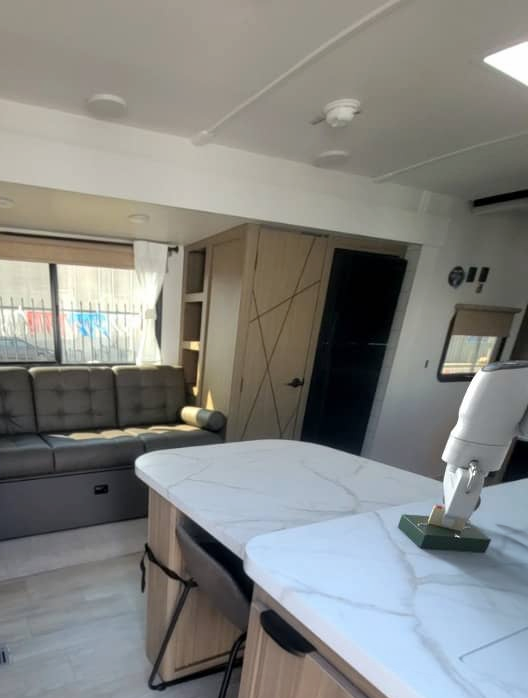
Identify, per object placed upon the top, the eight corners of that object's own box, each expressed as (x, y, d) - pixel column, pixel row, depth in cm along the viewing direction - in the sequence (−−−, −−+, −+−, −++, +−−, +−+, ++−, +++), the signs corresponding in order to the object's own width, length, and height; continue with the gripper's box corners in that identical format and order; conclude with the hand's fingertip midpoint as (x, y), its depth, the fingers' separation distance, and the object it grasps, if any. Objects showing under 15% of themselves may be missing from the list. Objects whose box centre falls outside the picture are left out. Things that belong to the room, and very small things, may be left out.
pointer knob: (460, 528, 80) (468, 511, 78) (461, 531, 78) (468, 514, 77) (428, 520, 82) (434, 503, 81) (428, 523, 81) (434, 506, 79)
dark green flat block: (455, 530, 86) (460, 516, 84) (486, 554, 77) (493, 539, 75) (396, 526, 86) (401, 512, 85) (420, 549, 78) (426, 534, 76)
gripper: (502, 473, 65) (469, 548, 70) (488, 446, 80) (462, 509, 86) (454, 465, 68) (426, 537, 73) (450, 440, 83) (427, 501, 89)
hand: (445, 522), depth 80 cm, fingers closed, pressing on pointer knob
